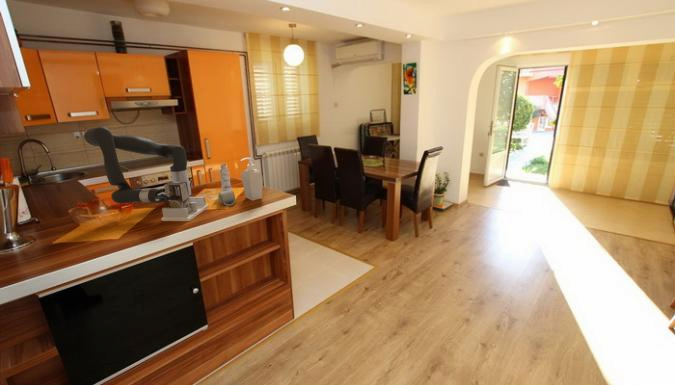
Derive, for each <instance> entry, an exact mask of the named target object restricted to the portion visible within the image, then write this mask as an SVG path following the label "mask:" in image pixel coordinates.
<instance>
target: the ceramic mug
mask: <svg viewBox="0 0 675 385" xmlns="http://www.w3.org/2000/svg"><path fill="white" fill-rule="evenodd" d="M235 195H236V194H235V193H234V191H233V189H232V190H229V191H225V192H222V191H221V192H219V194H218V195H217V196H218V201H219V203H220V204H221V205H225V206H226V207H232V206H234V205H235V203H236V196H235Z"/></svg>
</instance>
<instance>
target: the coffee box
mask: <svg viewBox="0 0 675 385" xmlns="http://www.w3.org/2000/svg"><path fill="white" fill-rule="evenodd" d="M163 187H164V192H165V193H166V195H168V196H178V198H179V200H171V201H168V202H166V203H167V208H187V209H188V212H189V211H191V205H190V199H189V197H190V196H189V193H188V187H187V182H173V181H169V182H167V183H165V184H164V185H163Z"/></svg>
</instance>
